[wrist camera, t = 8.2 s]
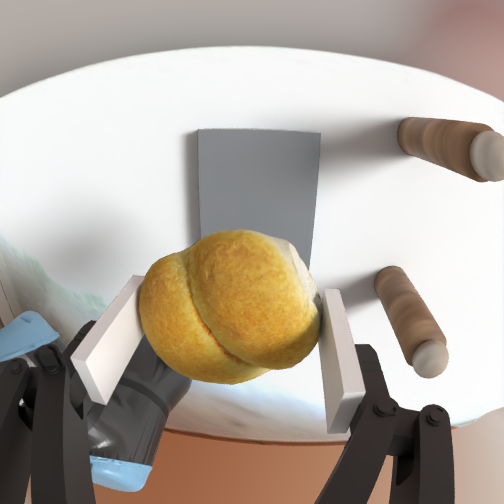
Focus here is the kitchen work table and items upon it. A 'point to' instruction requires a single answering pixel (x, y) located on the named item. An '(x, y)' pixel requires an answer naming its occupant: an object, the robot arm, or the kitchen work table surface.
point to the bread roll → (231, 307)
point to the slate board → (259, 183)
